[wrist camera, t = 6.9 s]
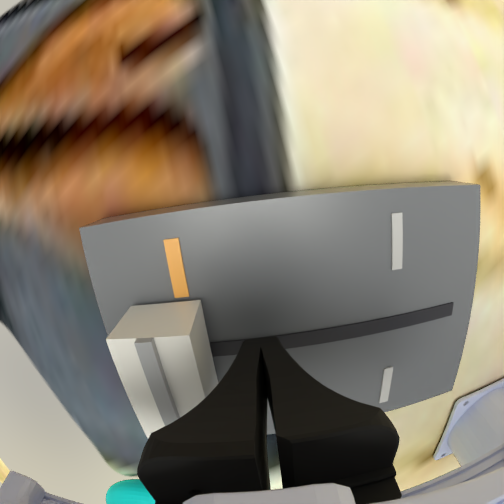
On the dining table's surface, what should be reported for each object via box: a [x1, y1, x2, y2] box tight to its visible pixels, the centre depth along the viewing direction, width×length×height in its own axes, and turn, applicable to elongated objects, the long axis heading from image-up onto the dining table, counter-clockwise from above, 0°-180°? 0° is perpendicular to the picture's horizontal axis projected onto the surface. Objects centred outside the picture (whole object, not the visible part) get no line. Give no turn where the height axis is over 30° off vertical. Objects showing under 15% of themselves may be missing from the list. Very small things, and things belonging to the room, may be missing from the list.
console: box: [79, 181, 480, 434], centre depth 14 cm, size 18×12×3 cm, turn 97°
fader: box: [106, 300, 218, 438], centre depth 11 cm, size 3×5×3 cm, turn 7°
